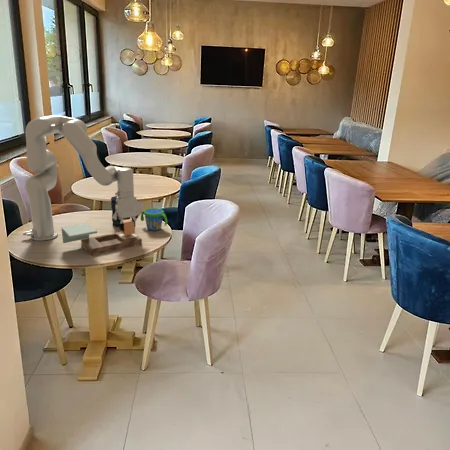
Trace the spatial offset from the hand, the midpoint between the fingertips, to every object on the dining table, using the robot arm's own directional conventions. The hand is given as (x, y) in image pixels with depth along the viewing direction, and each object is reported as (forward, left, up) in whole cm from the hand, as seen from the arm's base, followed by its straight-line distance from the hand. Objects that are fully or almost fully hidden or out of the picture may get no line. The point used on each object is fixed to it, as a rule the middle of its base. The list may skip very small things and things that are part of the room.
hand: (127, 229), depth 202 cm
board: (-8, 0, -7) cm, 11 cm away
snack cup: (+19, +9, -7) cm, 22 cm away
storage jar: (+7, +25, -7) cm, 27 cm away
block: (0, 0, -2) cm, 2 cm away
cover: (-23, 0, -3) cm, 24 cm away
